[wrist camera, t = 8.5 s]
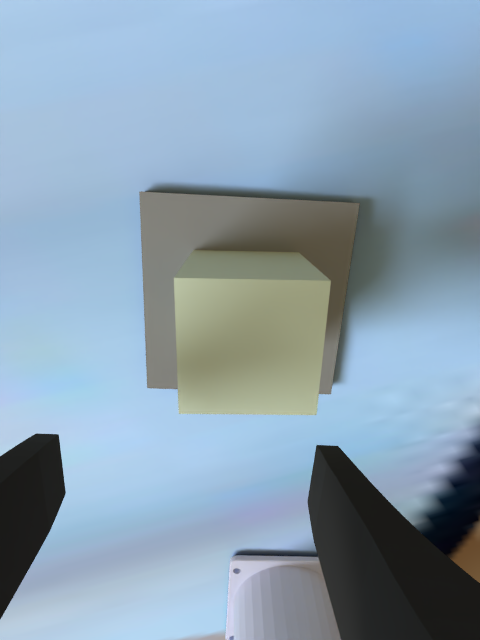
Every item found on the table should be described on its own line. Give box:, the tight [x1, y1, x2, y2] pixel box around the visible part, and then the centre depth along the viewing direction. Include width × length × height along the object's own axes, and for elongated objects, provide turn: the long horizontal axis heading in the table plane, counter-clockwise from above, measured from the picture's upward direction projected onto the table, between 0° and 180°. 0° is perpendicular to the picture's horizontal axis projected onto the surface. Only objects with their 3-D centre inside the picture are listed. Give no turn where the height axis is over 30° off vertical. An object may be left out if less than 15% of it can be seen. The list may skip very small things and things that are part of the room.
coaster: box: [140, 192, 360, 394], centre depth 18 cm, size 10×10×1 cm
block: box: [174, 250, 331, 415], centre depth 15 cm, size 5×5×6 cm
